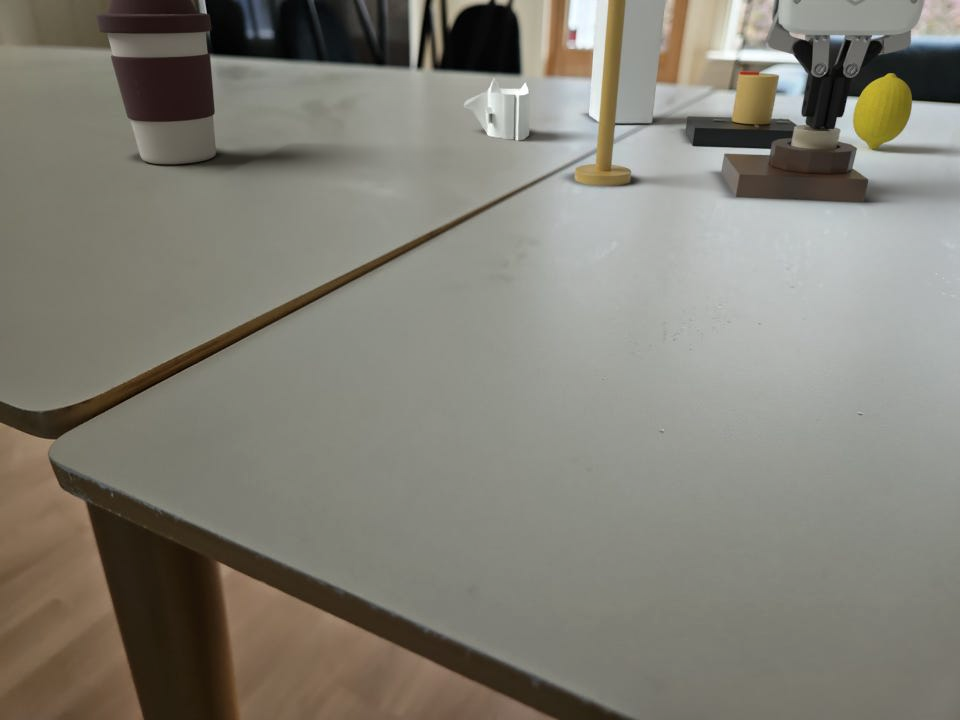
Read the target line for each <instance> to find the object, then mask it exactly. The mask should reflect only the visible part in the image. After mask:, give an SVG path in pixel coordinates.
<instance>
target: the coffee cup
mask: <svg viewBox="0 0 960 720" xmlns="http://www.w3.org/2000/svg"><path fill="white" fill-rule="evenodd" d="M96 21H97V26H98V30H99V32H100V33H104V34H105V33H106V35H107V38H108V42H109V46H110V50H111V53H112V55H110V59H111V63H112V66H113V70H114V74H115V78H116V80H117V85H118V88H119V92H120V95H121V99H122V102H123V106H124V111H125V113H126V117H127V118H128V119H129V120H130V124H131V127H132V130H133V134H134V138H135V143H136V145H137V149H138V154H139V156H140V159H141V160H143V161H144V162H146V163H149V164H155V165H185V164H194V163H199V162H204V161H208V160H210V159H212V158H214V157H215V156H216V153H217V147H216V146H217V145H216V135H215V122H214V115H215V112H216V111H215V98H214V96H215V95H214V83H213V72H212V60H211V54H210V53H209V52H208V43H207V32H211V31H212V23H211V22H212V21H211V16H210V14H209V13H205V12H204V13H203V12H198V10H197V8H196V6H195V5H194V3H193V1H192V0H110V1H109V6H108V11H107V12H104V13H103V12H102V13H97V14H96Z"/></svg>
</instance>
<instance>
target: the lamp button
mask: <svg viewBox="0 0 960 720" xmlns="http://www.w3.org/2000/svg"><path fill="white" fill-rule="evenodd" d="M797 125H798V126H795V127H794V131H793V137H792V142H791V146H795V147H800V148H808V149H824V150H829V149H837V144H838V142H839V141H840V140H839V139H840V134H841V128H839V127H835V128H834V129H826V128H824V127H821V128H820V129H813V128H811V127H810V126H808V125H807V124H797Z"/></svg>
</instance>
